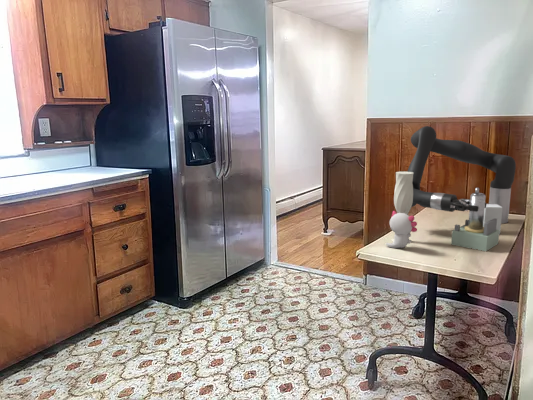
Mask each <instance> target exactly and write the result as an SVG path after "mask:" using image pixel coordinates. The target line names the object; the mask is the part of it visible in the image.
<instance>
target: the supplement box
mask: <svg viewBox="0 0 533 400" xmlns="http://www.w3.org/2000/svg"><path fill="white" fill-rule="evenodd" d="M494 218H496V219H497V226H496V229H497V230H499V235H500V234H501V230H502V229H501V228H502V227H501V226H502V223H501V218H502V207H501V206H499V205H498V204H489V203H486V208H485V210H484V222H483V227H484V223H486V222H488V221H490V220H492V219H494Z"/></svg>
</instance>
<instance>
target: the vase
mask: <svg viewBox="0 0 533 400" xmlns="http://www.w3.org/2000/svg"><path fill="white" fill-rule="evenodd" d="M412 181H413V172H407V171H396V172H395V185H394V194H393V204H394V205H393V206H394V207H395V210H396V211H395V212H396V213H405V214H407V215H409V212H410V211H411V209H412V207H411V206H412V203H413V184H412ZM409 240H410V241H411V243H412V240H411V239H410V238H409ZM390 241H392V243H393V242H394V237H393V238H391V240H390Z"/></svg>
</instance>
